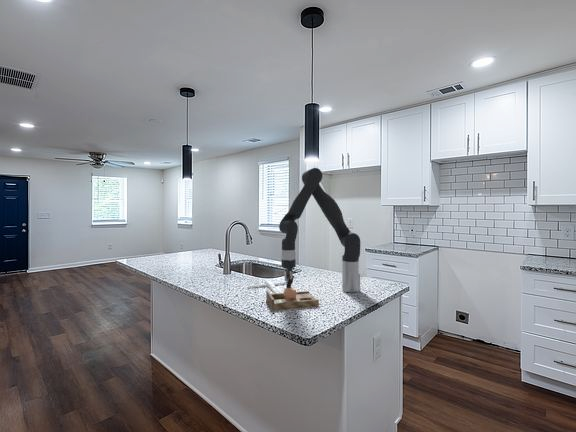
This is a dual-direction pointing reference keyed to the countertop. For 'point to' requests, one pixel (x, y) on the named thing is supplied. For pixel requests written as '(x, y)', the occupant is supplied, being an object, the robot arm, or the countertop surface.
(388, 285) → the countertop surface
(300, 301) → the brown wooden compartment frame
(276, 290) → the articulated figure
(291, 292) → the block
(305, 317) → the countertop surface
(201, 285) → the countertop surface
